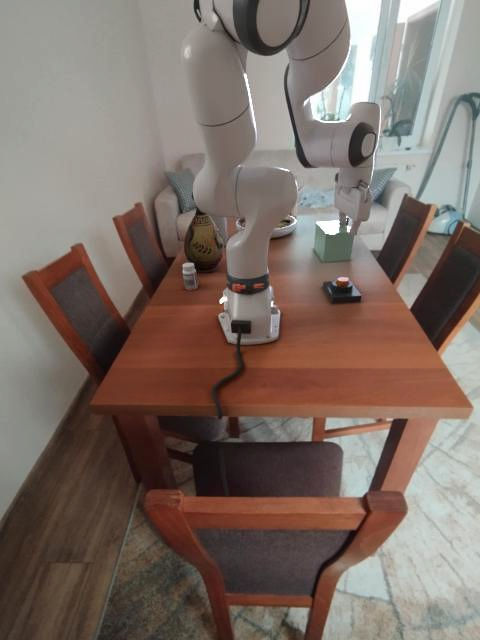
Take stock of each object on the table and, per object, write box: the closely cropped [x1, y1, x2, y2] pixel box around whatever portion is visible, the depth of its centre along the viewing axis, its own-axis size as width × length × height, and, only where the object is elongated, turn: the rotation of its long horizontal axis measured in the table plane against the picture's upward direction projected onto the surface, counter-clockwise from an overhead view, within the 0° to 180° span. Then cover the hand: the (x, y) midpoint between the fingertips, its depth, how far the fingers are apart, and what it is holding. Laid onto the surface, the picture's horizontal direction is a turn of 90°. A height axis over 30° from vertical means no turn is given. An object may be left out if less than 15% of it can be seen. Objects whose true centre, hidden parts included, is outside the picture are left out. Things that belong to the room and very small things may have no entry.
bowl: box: [235, 215, 297, 239], centre depth 164 cm, size 30×30×8 cm
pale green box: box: [313, 220, 355, 263], centre depth 133 cm, size 18×11×11 cm, turn 4°
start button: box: [336, 276, 350, 286], centre depth 105 cm, size 4×4×2 cm
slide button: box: [338, 215, 350, 226], centre depth 129 cm, size 2×3×3 cm
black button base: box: [322, 278, 363, 305], centre depth 107 cm, size 12×9×4 cm
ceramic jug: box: [183, 191, 225, 274], centre depth 122 cm, size 17×15×30 cm
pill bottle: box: [182, 262, 199, 291], centre depth 115 cm, size 5×5×8 cm
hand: (347, 230), depth 99 cm, fingers open, 8 cm apart
